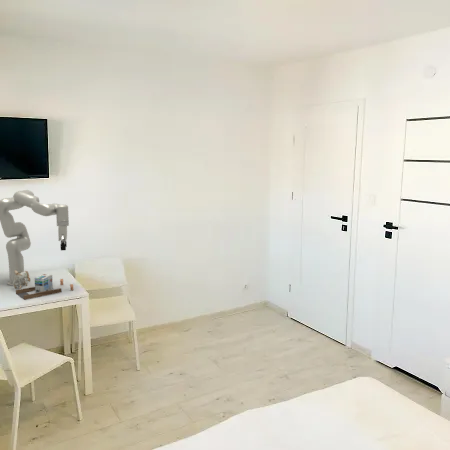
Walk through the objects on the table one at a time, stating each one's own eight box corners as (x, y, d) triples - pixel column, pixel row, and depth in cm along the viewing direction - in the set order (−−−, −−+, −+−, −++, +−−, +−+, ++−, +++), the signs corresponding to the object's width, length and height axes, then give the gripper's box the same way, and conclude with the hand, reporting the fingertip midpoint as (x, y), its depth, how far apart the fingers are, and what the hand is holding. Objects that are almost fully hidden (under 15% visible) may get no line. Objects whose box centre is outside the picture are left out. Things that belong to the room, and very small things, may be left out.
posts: (59, 284, 319) (59, 279, 319) (62, 284, 321) (62, 278, 320) (71, 290, 306) (70, 285, 306) (74, 290, 308) (73, 284, 307)
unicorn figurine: (9, 292, 302) (8, 272, 300) (20, 283, 321) (19, 264, 319) (20, 292, 302) (19, 272, 300) (31, 283, 322) (30, 264, 319)
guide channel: (15, 293, 298) (15, 290, 298) (52, 286, 314) (51, 283, 314) (24, 299, 287) (24, 295, 287) (61, 292, 303) (61, 288, 303)
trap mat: (16, 294, 297) (16, 294, 297) (26, 292, 301) (26, 292, 301) (23, 299, 288) (23, 298, 288) (33, 297, 292) (33, 296, 292)
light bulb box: (44, 294, 297) (43, 278, 295) (34, 294, 299) (33, 278, 297) (53, 290, 308) (52, 274, 306) (44, 289, 309) (43, 273, 307)
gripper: (57, 221, 310) (58, 246, 313) (55, 225, 293) (56, 251, 296) (69, 221, 312) (70, 245, 315) (68, 225, 296) (69, 251, 298)
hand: (63, 248), depth 306 cm, fingers open, 9 cm apart
